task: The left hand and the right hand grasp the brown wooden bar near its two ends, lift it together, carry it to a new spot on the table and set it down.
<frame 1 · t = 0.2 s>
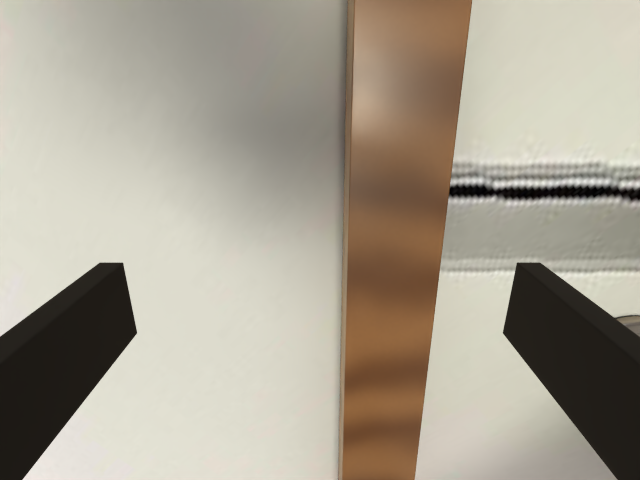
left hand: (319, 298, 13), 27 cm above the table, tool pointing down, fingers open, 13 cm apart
brown wooden bar: (376, 329, 45), on the table
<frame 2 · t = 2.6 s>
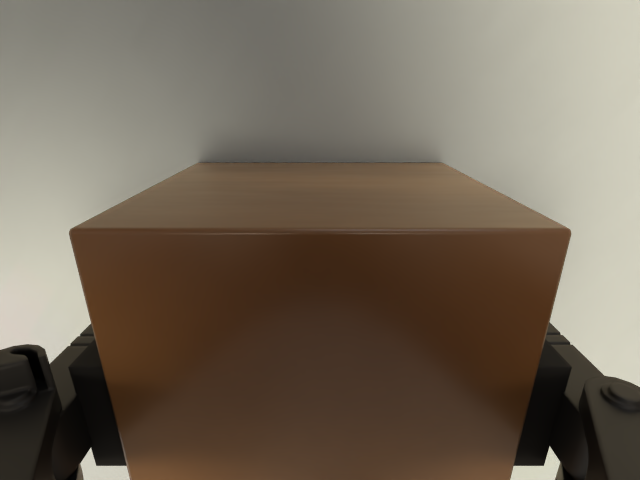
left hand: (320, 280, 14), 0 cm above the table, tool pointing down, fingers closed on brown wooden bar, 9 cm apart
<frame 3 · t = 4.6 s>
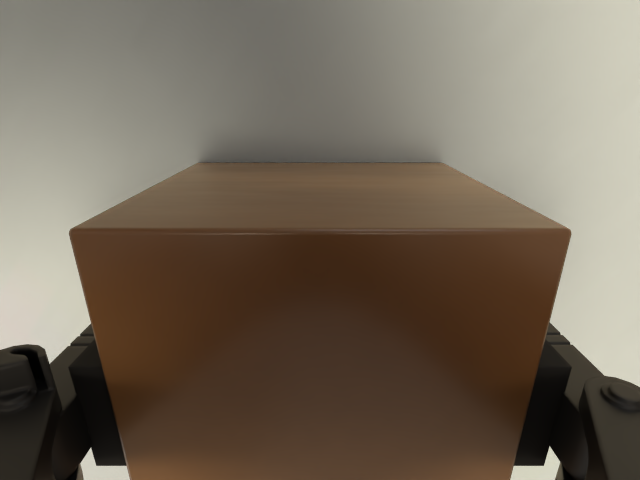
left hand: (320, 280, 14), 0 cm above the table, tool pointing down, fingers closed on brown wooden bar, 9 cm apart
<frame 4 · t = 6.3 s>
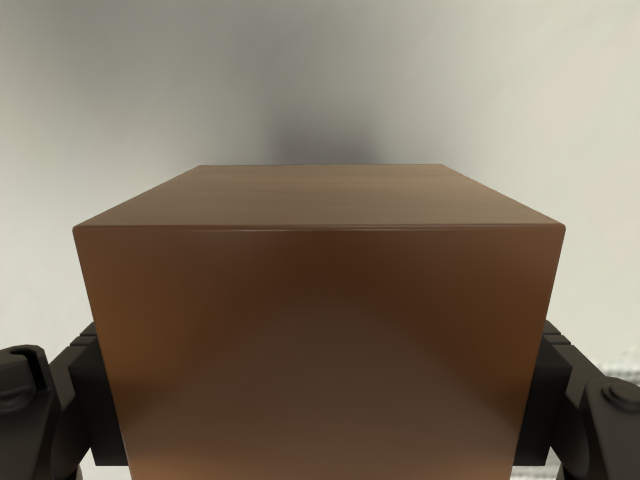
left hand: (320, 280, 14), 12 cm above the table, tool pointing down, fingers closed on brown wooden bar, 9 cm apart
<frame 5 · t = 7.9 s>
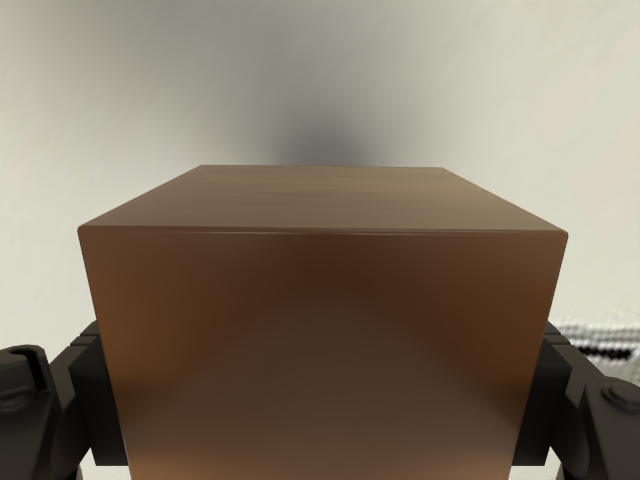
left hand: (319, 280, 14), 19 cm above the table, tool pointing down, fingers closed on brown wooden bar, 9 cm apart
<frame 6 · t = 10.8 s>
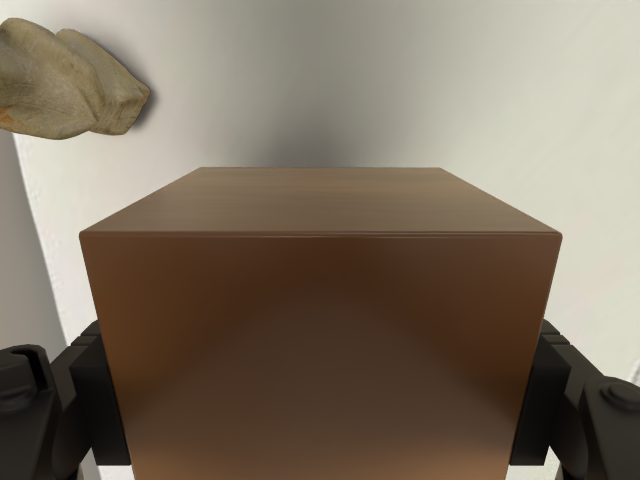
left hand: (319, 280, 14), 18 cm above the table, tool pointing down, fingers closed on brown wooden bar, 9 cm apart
sculpture: (111, 86, 28), on the table
when the left hand's fingers open (1 cm above the table, at t = 13.2 s): brown wooden bar stays where it is, on the table.
when the right hand's fingers open (1 cm above the table, at t = 13.2 s): brown wooden bar stays where it is, on the table.
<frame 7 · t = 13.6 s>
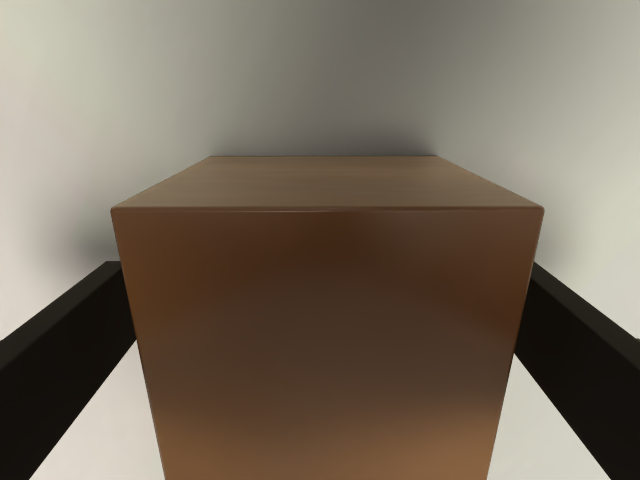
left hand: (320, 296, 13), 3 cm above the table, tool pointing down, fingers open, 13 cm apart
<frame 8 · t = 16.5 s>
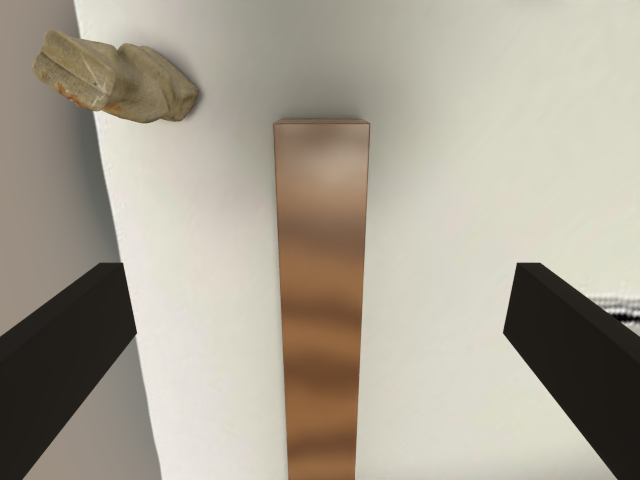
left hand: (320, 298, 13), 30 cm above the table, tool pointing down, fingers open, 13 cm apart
brown wooden bar: (321, 398, 53), on the table
sculpture: (169, 86, 39), on the table
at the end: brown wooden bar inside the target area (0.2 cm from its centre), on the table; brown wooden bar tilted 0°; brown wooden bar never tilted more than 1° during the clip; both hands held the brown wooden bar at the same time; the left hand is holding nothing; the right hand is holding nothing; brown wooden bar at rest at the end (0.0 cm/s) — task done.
